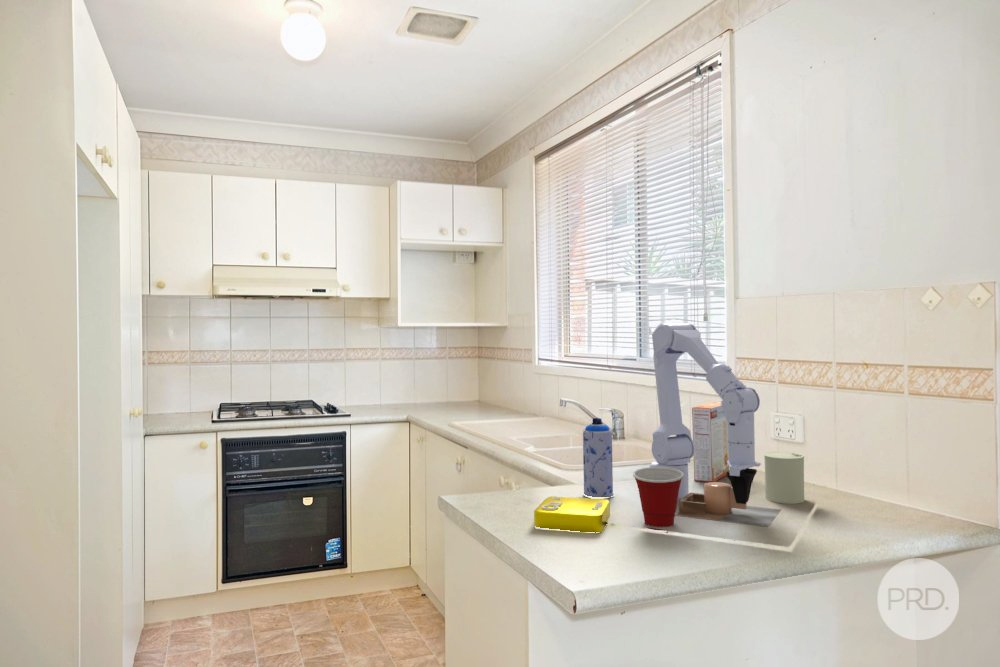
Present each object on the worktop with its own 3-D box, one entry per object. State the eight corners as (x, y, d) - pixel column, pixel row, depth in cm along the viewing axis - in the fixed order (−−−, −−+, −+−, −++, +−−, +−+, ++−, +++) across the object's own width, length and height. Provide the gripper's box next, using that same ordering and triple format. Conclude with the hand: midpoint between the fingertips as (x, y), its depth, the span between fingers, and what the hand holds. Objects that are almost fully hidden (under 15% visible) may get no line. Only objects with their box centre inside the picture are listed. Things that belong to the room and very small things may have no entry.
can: (809, 507, 168) (808, 456, 167) (768, 506, 169) (767, 456, 169) (800, 498, 177) (799, 450, 177) (761, 497, 178) (760, 449, 178)
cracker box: (709, 472, 210) (708, 401, 210) (730, 474, 207) (728, 402, 207) (692, 480, 199) (690, 406, 199) (713, 483, 195) (712, 407, 195)
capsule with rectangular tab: (708, 506, 167) (707, 481, 167) (749, 511, 162) (748, 485, 162) (701, 512, 161) (700, 486, 161) (743, 517, 157) (743, 490, 157)
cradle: (694, 503, 173) (694, 489, 173) (781, 512, 163) (780, 498, 163) (674, 518, 160) (674, 504, 160) (768, 530, 149) (767, 514, 149)
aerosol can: (585, 491, 188) (584, 416, 188) (615, 492, 186) (614, 416, 186) (580, 498, 180) (579, 419, 180) (611, 499, 178) (610, 420, 178)
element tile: (601, 536, 149) (601, 513, 149) (532, 531, 153) (531, 509, 153) (611, 517, 163) (611, 497, 163) (547, 514, 167) (547, 493, 167)
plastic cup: (628, 531, 150) (627, 475, 150) (638, 518, 160) (637, 465, 160) (681, 536, 146) (680, 478, 146) (687, 522, 156) (687, 468, 156)
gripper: (752, 448, 151) (754, 511, 151) (766, 438, 164) (767, 497, 164) (719, 445, 155) (720, 507, 155) (734, 436, 167) (735, 494, 167)
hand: (742, 502), depth 160 cm, fingers closed on capsule with rectangular tab
